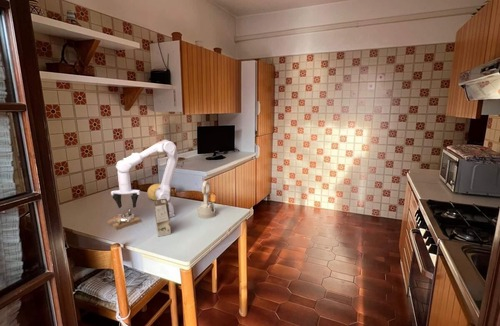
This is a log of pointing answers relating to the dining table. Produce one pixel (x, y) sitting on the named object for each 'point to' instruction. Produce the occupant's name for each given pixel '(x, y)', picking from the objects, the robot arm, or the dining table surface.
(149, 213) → the dining table surface
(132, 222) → the index board
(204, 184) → the engine component
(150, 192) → the sculpture
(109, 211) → the dining table surface
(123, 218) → the sprocket
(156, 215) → the coffee box
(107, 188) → the dining table surface
